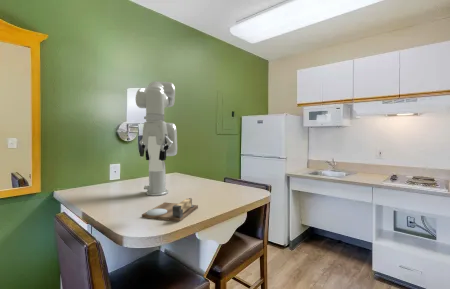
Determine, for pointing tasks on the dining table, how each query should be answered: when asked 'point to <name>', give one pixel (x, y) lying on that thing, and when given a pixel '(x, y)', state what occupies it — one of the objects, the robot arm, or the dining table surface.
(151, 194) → the robot arm
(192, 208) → the seat board
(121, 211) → the dining table surface
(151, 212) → the felt pad
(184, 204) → the leg
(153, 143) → the beer glass
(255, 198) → the dining table surface
